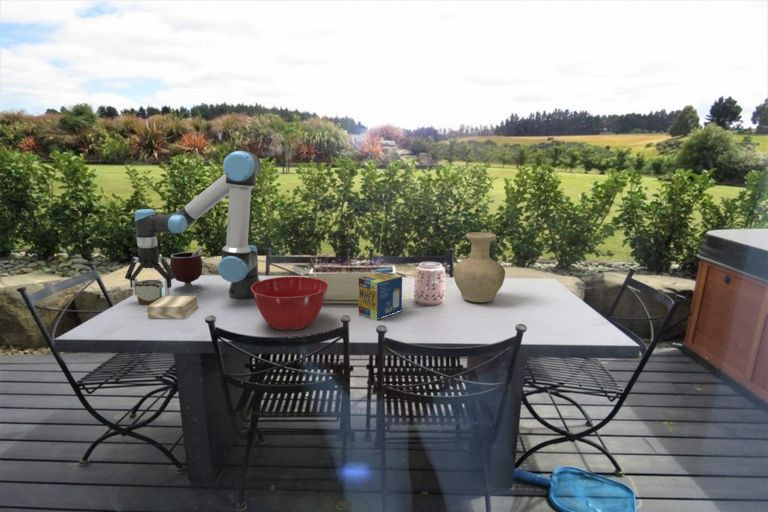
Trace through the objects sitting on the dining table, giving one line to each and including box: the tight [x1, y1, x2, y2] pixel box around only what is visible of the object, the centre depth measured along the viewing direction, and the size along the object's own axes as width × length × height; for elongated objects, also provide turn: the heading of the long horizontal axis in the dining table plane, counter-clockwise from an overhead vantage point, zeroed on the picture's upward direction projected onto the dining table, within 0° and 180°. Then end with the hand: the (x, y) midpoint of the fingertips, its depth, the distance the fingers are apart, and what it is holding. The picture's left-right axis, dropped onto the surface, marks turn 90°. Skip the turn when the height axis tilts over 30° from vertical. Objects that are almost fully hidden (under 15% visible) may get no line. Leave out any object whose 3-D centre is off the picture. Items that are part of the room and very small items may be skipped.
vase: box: [453, 231, 506, 303], centre depth 201 cm, size 22×22×30 cm
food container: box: [134, 279, 164, 307], centre depth 194 cm, size 12×6×10 cm, turn 84°
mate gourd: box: [169, 246, 204, 294], centre depth 215 cm, size 16×14×20 cm
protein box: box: [358, 271, 403, 320], centre depth 184 cm, size 10×15×16 cm
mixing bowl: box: [251, 276, 329, 331], centre depth 171 cm, size 28×28×15 cm
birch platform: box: [146, 295, 199, 320], centre depth 183 cm, size 14×14×5 cm
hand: (152, 294), depth 195 cm, fingers open, 13 cm apart
